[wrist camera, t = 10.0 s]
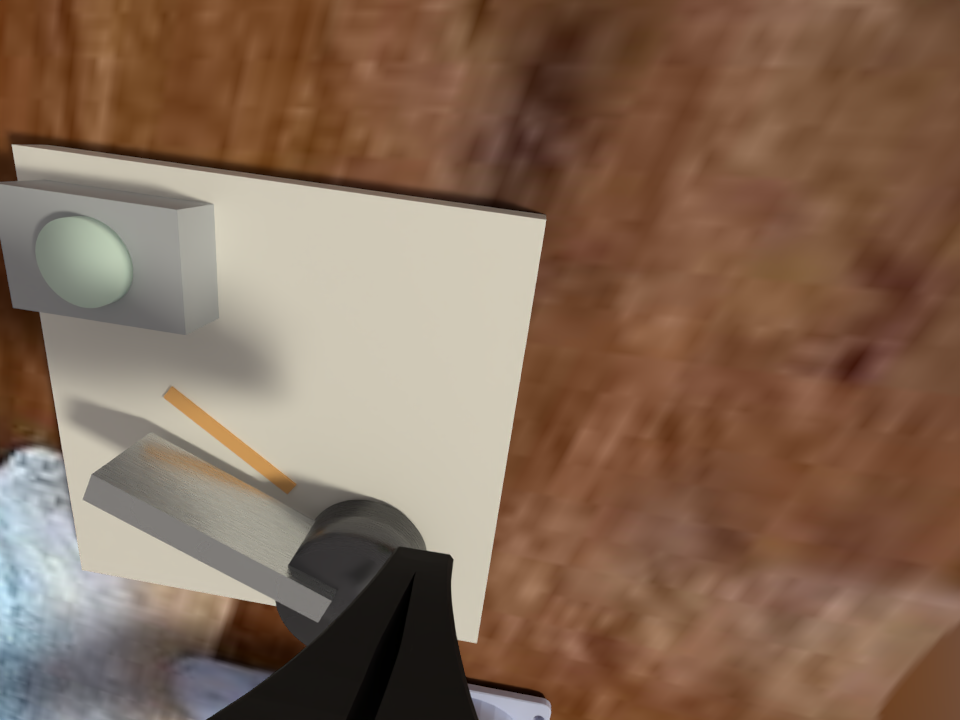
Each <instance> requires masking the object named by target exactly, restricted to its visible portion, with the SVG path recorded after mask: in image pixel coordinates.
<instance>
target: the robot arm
mask: <svg viewBox="0 0 960 720" xmlns="http://www.w3.org/2000/svg"><path fill="white" fill-rule="evenodd" d="M453 561H454V559H453V558H452V557H451V555H450V554H444V553H438V552H432V551H426V550H420V549H413V548H407V547H401V546H399V547H398V548H396V549H395V550H394V551H393V552H392V554H391V555H390V557H389V558H388V559H387V561H386V562H385V563H384V565H383V566H382V567H381V569H380V570H379V571H378V572H377V574H376V575H375V576H374V577H373V578H372V580H371V581H370V582H369V583H368V585H367V586H366V587H365V588H364V589H363V590H362V591H361V592H360V593H359V595H358V596H357V597H356V598H355V599H354V600H353V601H352V602H351V604H350V605H349V606H348V607H347V608H346V609H345V610H344V611H343V612H342V613H341V614H340V615H339V616H338V617H337V618H336V619H335V620H334V621H333V622H332V623H331V624H330V625H329V626H328V627H327V628H326V629H325V630H324V631H323V632H322V633H321V634H320V635H319V636H318V637H316V638H315V639H314V640H313V641H312V642H311V643H310V644H309V645H308V646H306V647H305V648H304V649H303V650H302V651H301V652H300V653H298V654H297V655H296V656H295V657H294V658H292V659H291V660H290V661H289V662H288V663H286V664H285V665H284V666H283V667H281V668H280V669H279V670H277V671H276V672H275V673H273V674H272V675H271V676H270V677H268V678H267V679H266V680H264V681H263V682H262V683H260V684H259V685H258V686H256V687H255V688H253V689H252V690H251V691H249V692H248V693H246V694H245V695H244V696H242V697H240V698H239V699H237V700H236V701H234V702H233V703H231V704H230V705H228V706H227V707H225V708H224V709H222V710H220V711H219V712H217V713H216V714H214V715H213V716H211V717H210V718H208V719H207V720H549V719H550V715H551V704H550V702H549V701H548V700H546V699H544V698H541V697H536V696H531V695H525V694H520V693H515V692H510V691H504V690H499V689H494V688H488V687H483V686H478V685H473V684H467V680H466V676H465V672H464V668H463V664H462V660H461V655H460V650H459V646H458V641H457V635H456V629H455V622H454V614H453V606H452V593H451V578H452V569H453Z"/></svg>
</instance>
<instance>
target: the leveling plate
mask: <svg viewBox="0 0 960 720" xmlns="http://www.w3.org/2000/svg"><path fill="white" fill-rule="evenodd" d="M12 149H13V156H14V162H15V168H16V174H17V180H18V181H9V182H0V240H1V245H2V251H3V256H4V262H5V267H6V273H7V278H8V283H9V289H10V294H11V300H12V305H13V308H18V309H24V310H30V311H37V312H40V318H41V325H42V331H43V337H44V343H45V349H46V355H47V361H48V367H49V373H50V379H51V385H52V391H53V397H54V403H55V409H56V415H57V421H58V427H59V433H60V439H61V445H62V451H63V457H64V463H65V469H66V475H67V481H68V488H69V494H70V500H71V506H72V512H73V518H74V524H75V530H76V536H77V542H78V548H79V554H80V560H81V566H82V570H85V571H90V572H96V573H101V574H107V575H112V576H117V577H123V578H128V579H134V580H139V581H144V582H150V583H155V584H160V585H166V586H171V587H177V588H182V589H187V590H193V591H198V592H203V593H209V594H214V595H220V596H225V597H230V598H236V599H241V600H247V601H252V602H257V603H263V604H268V605H273V606H276V602H275V600H274V599H272V598H270V597H268V596H266V595H264V594H262V593H260V592H258V591H256V590H254V589H252V588H251V587H249V586H247V585H245V584H243V583H241V582H239V581H237V580H235V579H233V578H231V577H229V576H228V575H226V574H224V573H222V572H220V571H218V570H216V569H214V568H212V567H210V566H208V565H206V564H205V563H203V562H201V561H199V560H197V559H195V558H193V557H191V556H189V555H187V554H185V553H183V552H182V551H180V550H178V549H176V548H174V547H172V546H170V545H168V544H166V543H164V542H162V541H161V540H159V539H157V538H155V537H153V536H151V535H149V534H147V533H145V532H143V531H141V530H139V529H138V528H136V527H134V526H132V525H130V524H128V523H126V522H124V521H122V520H120V519H118V518H116V517H115V516H113V515H111V514H109V513H107V512H105V511H103V510H101V509H99V508H97V507H95V506H93V505H92V504H90V503H88V502H86V501H84V500H83V497H84V494H85V491H86V488H87V486H88V483H89V480H90V477H91V474H93V473H94V472H95V471H97V470H98V469H100V468H101V467H102V466H104V465H105V464H107V463H108V462H109V461H111V460H112V459H114V458H115V457H116V456H118V455H119V454H121V453H122V452H124V451H125V450H126V449H128V448H129V447H131V446H132V445H133V444H135V443H136V442H138V441H139V440H140V439H142V438H143V437H145V436H146V435H147V434H149V433H150V432H152V433H154V434H156V435H158V436H160V437H161V438H163V439H165V440H167V441H169V442H171V443H173V444H174V445H176V446H178V447H180V448H182V449H184V450H185V451H187V452H189V453H191V454H193V455H195V456H197V457H198V458H200V459H202V460H204V461H206V462H208V463H210V464H211V465H213V466H215V467H217V468H219V469H221V470H223V471H224V472H226V473H228V474H230V475H232V476H234V477H236V478H237V479H239V480H241V481H243V482H245V483H247V484H248V485H250V486H252V487H254V488H256V489H258V490H260V491H261V492H263V493H265V494H267V495H269V496H271V497H273V498H274V499H276V500H278V501H280V502H282V503H284V504H286V505H287V506H289V507H291V508H293V509H295V510H297V511H298V512H300V513H302V514H304V515H306V516H308V517H310V518H311V519H313V520H315V519H316V517H317V516H318V515H319V514H320V513H321V512H322V511H324V510H325V509H326V508H328V507H330V506H332V505H334V504H336V503H339V502H343V501H347V500H369V501H374V502H379V503H382V504H384V505H387V506H389V507H391V508H393V509H395V510H397V511H398V512H400V513H402V514H403V515H404V516H405V517H407V518H408V519H409V520H410V521H411V522H412V523H413V524H414V525H415V527H416V528H417V529H418V530H419V532H420V534H421V535H422V537H423V540H424V542H425V545H426V549H427V551H432V552H438V553H444V554H450V555H451V557H452V558H453V559H454V561H453V569H452V578H451V593H452V606H453V614H454V622H455V629H456V635H457V640H462V641H467V642H473V643H477V639H478V632H479V626H480V620H481V614H482V608H483V602H484V596H485V590H486V584H487V578H488V572H489V565H490V559H491V553H492V547H493V541H494V535H495V529H496V523H497V517H498V511H499V505H500V498H501V492H502V486H503V480H504V474H505V468H506V462H507V456H508V450H509V444H510V438H511V431H512V425H513V419H514V413H515V407H516V401H517V395H518V389H519V383H520V377H521V371H522V364H523V358H524V352H525V346H526V340H527V334H528V328H529V322H530V316H531V310H532V304H533V297H534V291H535V285H536V279H537V273H538V267H539V261H540V255H541V249H542V243H543V237H544V230H545V224H546V215H544V214H537V213H529V212H522V211H515V210H508V209H501V208H494V207H487V206H480V205H473V204H465V203H458V202H451V201H444V200H437V199H430V198H423V197H416V196H409V195H401V194H394V193H387V192H380V191H373V190H366V189H359V188H352V187H344V186H337V185H330V184H323V183H316V182H309V181H302V180H295V179H288V178H280V177H273V176H266V175H259V174H252V173H245V172H238V171H231V170H224V169H216V168H209V167H202V166H195V165H188V164H181V163H174V162H167V161H160V160H152V159H145V158H138V157H131V156H124V155H117V154H110V153H103V152H96V151H88V150H81V149H74V148H67V147H60V146H53V145H20V144H12Z"/></svg>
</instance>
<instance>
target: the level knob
mask: <svg viewBox="0 0 960 720" xmlns="http://www.w3.org/2000/svg"><path fill="white" fill-rule="evenodd" d="M83 500H84V501H86V502H88V503H90V504H92V505H93V506H95V507H97V508H99V509H101V510H103V511H105V512H107V513H109V514H111V515H113V516H115V517H116V518H118V519H120V520H122V521H124V522H126V523H128V524H130V525H132V526H134V527H136V528H138V529H139V530H141V531H143V532H145V533H147V534H149V535H151V536H153V537H155V538H157V539H159V540H161V541H162V542H164V543H166V544H168V545H170V546H172V547H174V548H176V549H178V550H180V551H182V552H183V553H185V554H187V555H189V556H191V557H193V558H195V559H197V560H199V561H201V562H203V563H205V564H206V565H208V566H210V567H212V568H214V569H216V570H218V571H220V572H222V573H224V574H226V575H228V576H229V577H231V578H233V579H235V580H237V581H239V582H241V583H243V584H245V585H247V586H249V587H251V588H252V589H254V590H256V591H258V592H260V593H262V594H264V595H266V596H268V597H270V598H272V599H274V600H275V602H276V606H277V610H278V612H279V615H280V617H281V619H282V621H283V623H284V624H285V625H286V627H287V628H288V629H289V631H290V632H291V633H292V634H293V635H294V636H295V637H296V638H298V639H299V640H300V641H301V642H302V643H304V644H305V645H307V646H308V645H309V644H310V643H311V642H312V641H313V640H314V639H315V638H316V637H318V636H319V635H320V634H321V633H322V632H323V631H324V630H325V629H326V628H327V627H328V626H329V625H330V624H331V623H332V622H333V621H334V620H335V619H336V618H337V617H338V616H339V615H340V614H341V613H342V612H343V611H344V610H345V609H346V608H347V607H348V606H349V605H350V604H351V602H352V601H353V600H354V599H355V598H356V597H357V596H358V595H359V593H360V592H361V591H362V590H363V589H364V588H365V587H366V586H367V585H368V583H369V582H370V581H371V580H372V578H373V577H374V576H375V575H376V574H377V572H378V571H379V570H380V569H381V567H382V566H383V565H384V563H385V562H386V561H387V559H388V558H389V557H390V555H391V554H392V552H393V551H394V550H395V549H396V548H398V547H399V546H401V547H407V548H413V549H420V550H426V551H427V549H426V545H425V542H424V540H423V537H422V535H421V534H420V532H419V530H418V529H417V528H416V527H415V525H414V524H413V523H412V522H411V521H410V520H409V519H408V518H407V517H405V516H404V515H403V514H402V513H400V512H398V511H397V510H395V509H393V508H391V507H389V506H387V505H384V504H382V503H379V502H374V501H369V500H347V501H343V502H339V503H336V504H334V505H332V506H330V507H328V508H326V509H325V510H324V511H322V512H321V513H320V514H319V515H318V516H317V517H316V519H315V520H313V519H311V518H310V517H308V516H306V515H304V514H302V513H300V512H298V511H297V510H295V509H293V508H291V507H289V506H287V505H286V504H284V503H282V502H280V501H278V500H276V499H274V498H273V497H271V496H269V495H267V494H265V493H263V492H261V491H260V490H258V489H256V488H254V487H252V486H250V485H248V484H247V483H245V482H243V481H241V480H239V479H237V478H236V477H234V476H232V475H230V474H228V473H226V472H224V471H223V470H221V469H219V468H217V467H215V466H213V465H211V464H210V463H208V462H206V461H204V460H202V459H200V458H198V457H197V456H195V455H193V454H191V453H189V452H187V451H185V450H184V449H182V448H180V447H178V446H176V445H174V444H173V443H171V442H169V441H167V440H165V439H163V438H161V437H160V436H158V435H156V434H154V433H152V432H150V433H149V434H147V435H146V436H145V437H143V438H142V439H140V440H139V441H138V442H136V443H135V444H133V445H132V446H131V447H129V448H128V449H126V450H125V451H124V452H122V453H121V454H119V455H118V456H116V457H115V458H114V459H112V460H111V461H109V462H108V463H107V464H105V465H104V466H102V467H101V468H100V469H98V470H97V471H95V472H94V473H93V474H91V477H90V480H89V483H88V486H87V488H86V491H85V494H84V497H83Z"/></svg>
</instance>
